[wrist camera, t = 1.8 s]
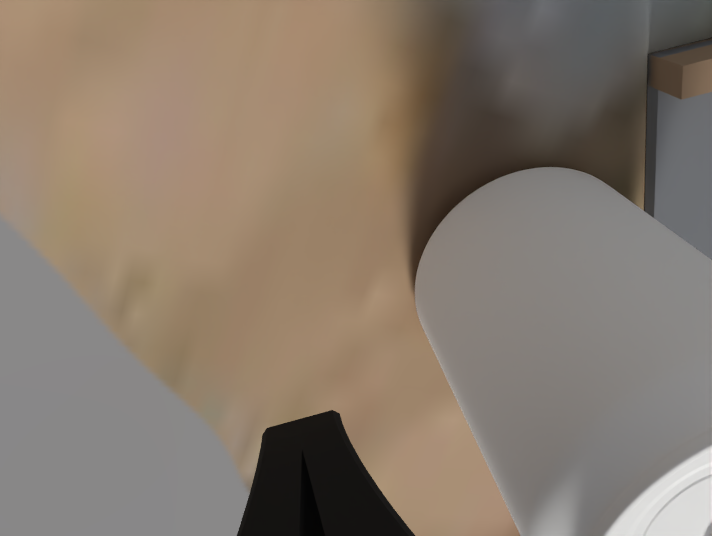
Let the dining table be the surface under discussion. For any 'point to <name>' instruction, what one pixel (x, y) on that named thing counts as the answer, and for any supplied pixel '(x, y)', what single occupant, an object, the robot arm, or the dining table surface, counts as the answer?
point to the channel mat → (681, 142)
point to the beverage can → (576, 354)
